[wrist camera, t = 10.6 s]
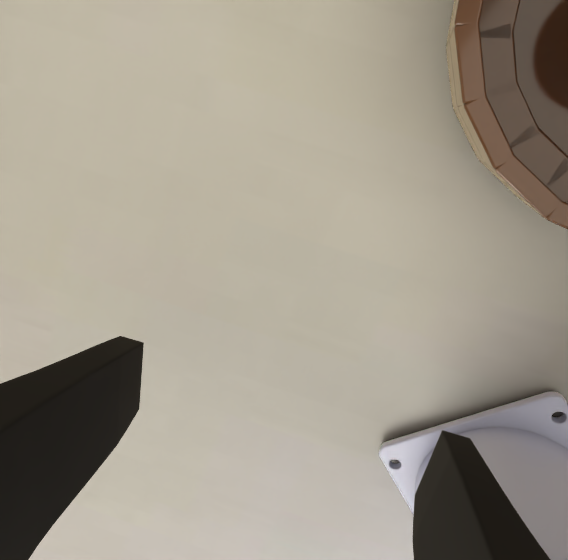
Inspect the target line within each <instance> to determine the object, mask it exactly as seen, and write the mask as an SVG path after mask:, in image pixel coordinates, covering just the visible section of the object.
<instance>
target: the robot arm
mask: <svg viewBox="0 0 568 560" xmlns="http://www.w3.org/2000/svg"><path fill="white" fill-rule="evenodd" d="M143 344H144V343H143V342H139V341H136V340H132V339H129V338H125V337H122V336H119V337H117V338H114V339H111V340H109V341H106V342H104V343H101V344H99V345H96V346H94V347H92V348H89V349H87V350H85V351H82V352H80V353H78V354H75V355H73V356H70V357H68V358H66V359H63V360H61V361H58V362H56V363H54V364H51V365H49V366H46V367H44V368H41V369H39V370H36V371H34V372H31V373H28V374H26V375H23V376H20V377H17V378H15V379H12V380H9V381H7V382H4V383H1V384H0V560H28V559H29V558H30V556H31V555H32V553H33V552H34V550H35V549H36V547H37V546H38V544H39V543H40V542H41V540H42V539H43V538H44V536H45V535H46V533H47V532H48V531H49V529H50V528H51V527H52V525H53V524H54V523H55V522H56V520H57V519H58V518H59V517H60V515H61V514H62V513H63V512H64V511H65V509H66V508H67V507H68V506H69V504H70V503H71V502H72V501H73V499H74V498H75V497H76V496H77V494H78V493H79V492H80V491H81V489H82V488H83V487H84V486H85V485H86V483H87V482H88V481H89V480H90V478H91V477H92V476H93V475H94V473H95V472H96V471H97V470H98V468H99V467H100V466H101V465H102V463H103V462H104V461H105V460H106V458H107V457H108V456H109V455H110V453H111V452H112V451H113V449H114V448H115V447H116V446H117V444H118V443H119V441H120V440H121V438H122V436H123V435H124V433H125V432H126V430H127V428H128V427H129V425H130V423H131V422H132V420H133V418H134V417H135V415H136V413H137V412H138V410H139V403H140V388H141V373H142V358H143ZM555 412H563V415H562V416H560V417H552V415H553V414H554V413H555ZM379 456H380V459H381V460H382V462H383V464H384V466H385V467H386V469H387V471H388V472H389V474H390V476H391V477H392V479H393V481H394V483H395V484H396V486H397V488H398V489H399V491H400V493H401V495H402V496H403V498H404V500H405V501H406V503H407V505H408V507H409V508H410V510H411V512H412V513H413V515H414V517H413V552H414V560H568V403H567V402H566V400H565V398H564V397H563V395H562V394H560V393H558V392H554V391H550V392H545V393H541V394H538V395H535V396H532V397H528V398H525V399H522V400H519V401H515V402H512V403H509V404H506V405H502V406H499V407H496V408H493V409H490V410H486V411H483V412H480V413H477V414H473V415H470V416H467V417H464V418H460V419H457V420H454V421H451V422H447V423H444V424H441V425H438V426H434V427H431V428H428V429H425V430H422V431H418V432H415V433H412V434H409V435H405V436H402V437H399V438H396V439H392V440H389V441H386V442H384V443H382V444H381V445H380V448H379ZM395 459H396V460H398V461H399V463H393V462H392V461H391V460H395Z"/></svg>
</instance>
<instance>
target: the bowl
mask: <svg viewBox="0 0 568 560" xmlns="http://www.w3.org/2000/svg"><path fill="white" fill-rule="evenodd" d="M446 47H447V48H446V55H447V63H448V71H449V80H450V88H451V97H452V105H453V108H454V112H455V114H456V116H457V118H458V120H459V122H460V124H461V126H462V128H463V130H464V132H465V134H466V136H467V139H468V141H469V143H470V145H471V147H472V149H473V151H474V153H475V155H476V157H477V158H478V159H479V161H480V162H481V163H482V164H483V165H484V166H485V167H486V168H487V169H488V170H489V171H490V172H491V173H492V174H493V175H494V176H496V177H497V178H498V179H499V180H500V181H501V182H502V183H503V184H504V185H505V186H506V187H507V188H508V189H509V190H510V191H511V192H512V193H513V194H514V195H515V196H516V197H518V198H519V199H520V200H522V201H523V202H524V203H525V204H527V205H528V206H529V207H530V208H532V209H533V210H534V211H536V212H537V213H538V214H540V215H541V216H542V217H544V218H545V219H547V220H548V221H550V222H553V223H555V224H557V225H559V226H561V227H564V228H566V229H568V0H454V5H453V10H452V15H451V21H450V26H449V32H448V37H447V43H446Z"/></svg>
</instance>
